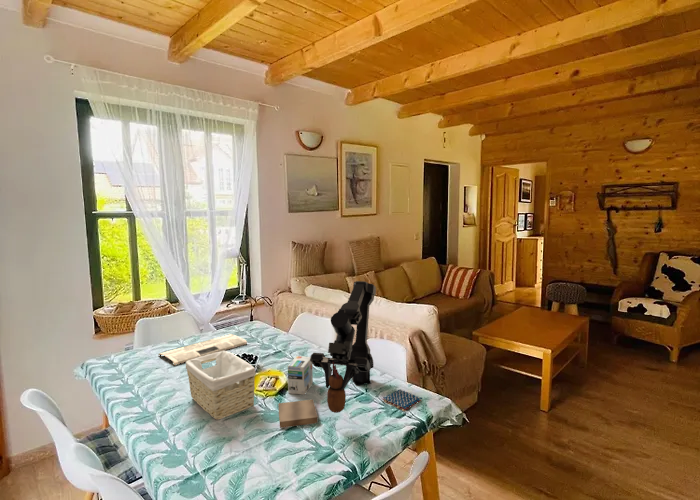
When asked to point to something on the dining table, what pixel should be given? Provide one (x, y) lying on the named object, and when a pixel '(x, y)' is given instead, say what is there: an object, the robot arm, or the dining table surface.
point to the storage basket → (221, 384)
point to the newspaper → (203, 348)
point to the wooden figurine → (336, 392)
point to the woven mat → (401, 399)
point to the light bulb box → (300, 375)
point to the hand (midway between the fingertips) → (334, 388)
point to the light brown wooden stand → (297, 413)
